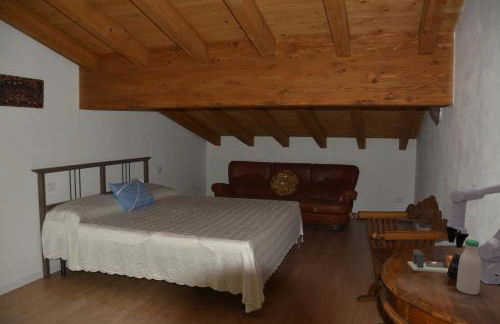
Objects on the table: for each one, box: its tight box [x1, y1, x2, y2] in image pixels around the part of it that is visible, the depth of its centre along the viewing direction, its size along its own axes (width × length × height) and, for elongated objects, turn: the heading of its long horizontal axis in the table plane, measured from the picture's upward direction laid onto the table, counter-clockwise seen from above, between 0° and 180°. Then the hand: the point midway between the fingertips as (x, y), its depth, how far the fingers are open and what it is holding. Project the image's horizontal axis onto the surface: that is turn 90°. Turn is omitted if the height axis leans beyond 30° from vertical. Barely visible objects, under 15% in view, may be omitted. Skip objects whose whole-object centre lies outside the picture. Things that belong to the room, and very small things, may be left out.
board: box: [407, 261, 448, 274], centre depth 172 cm, size 9×18×1 cm, turn 85°
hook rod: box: [424, 254, 455, 268], centre depth 171 cm, size 12×4×5 cm, turn 85°
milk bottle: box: [456, 238, 481, 296], centre depth 148 cm, size 8×8×20 cm
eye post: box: [412, 249, 425, 268], centre depth 172 cm, size 7×2×6 cm, turn 175°
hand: (455, 245), depth 174 cm, fingers open, 7 cm apart
